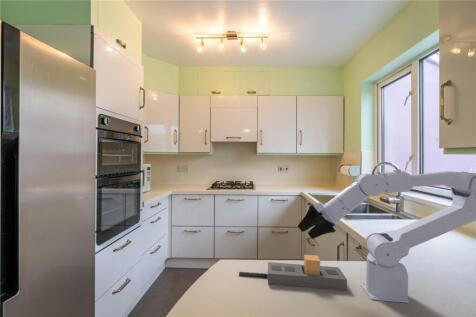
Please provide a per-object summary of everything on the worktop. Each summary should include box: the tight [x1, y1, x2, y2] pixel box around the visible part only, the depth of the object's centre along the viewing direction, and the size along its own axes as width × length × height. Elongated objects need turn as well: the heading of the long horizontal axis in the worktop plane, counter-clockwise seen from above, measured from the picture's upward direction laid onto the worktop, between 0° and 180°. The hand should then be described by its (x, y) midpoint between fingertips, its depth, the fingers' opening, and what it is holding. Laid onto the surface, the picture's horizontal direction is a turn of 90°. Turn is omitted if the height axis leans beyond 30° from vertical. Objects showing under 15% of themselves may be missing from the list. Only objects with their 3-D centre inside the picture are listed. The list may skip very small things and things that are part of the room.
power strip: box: [238, 261, 348, 291], centre depth 75 cm, size 31×8×3 cm, turn 84°
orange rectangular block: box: [303, 254, 321, 275], centre depth 74 cm, size 4×4×7 cm
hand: (305, 232), depth 73 cm, fingers open, 7 cm apart
